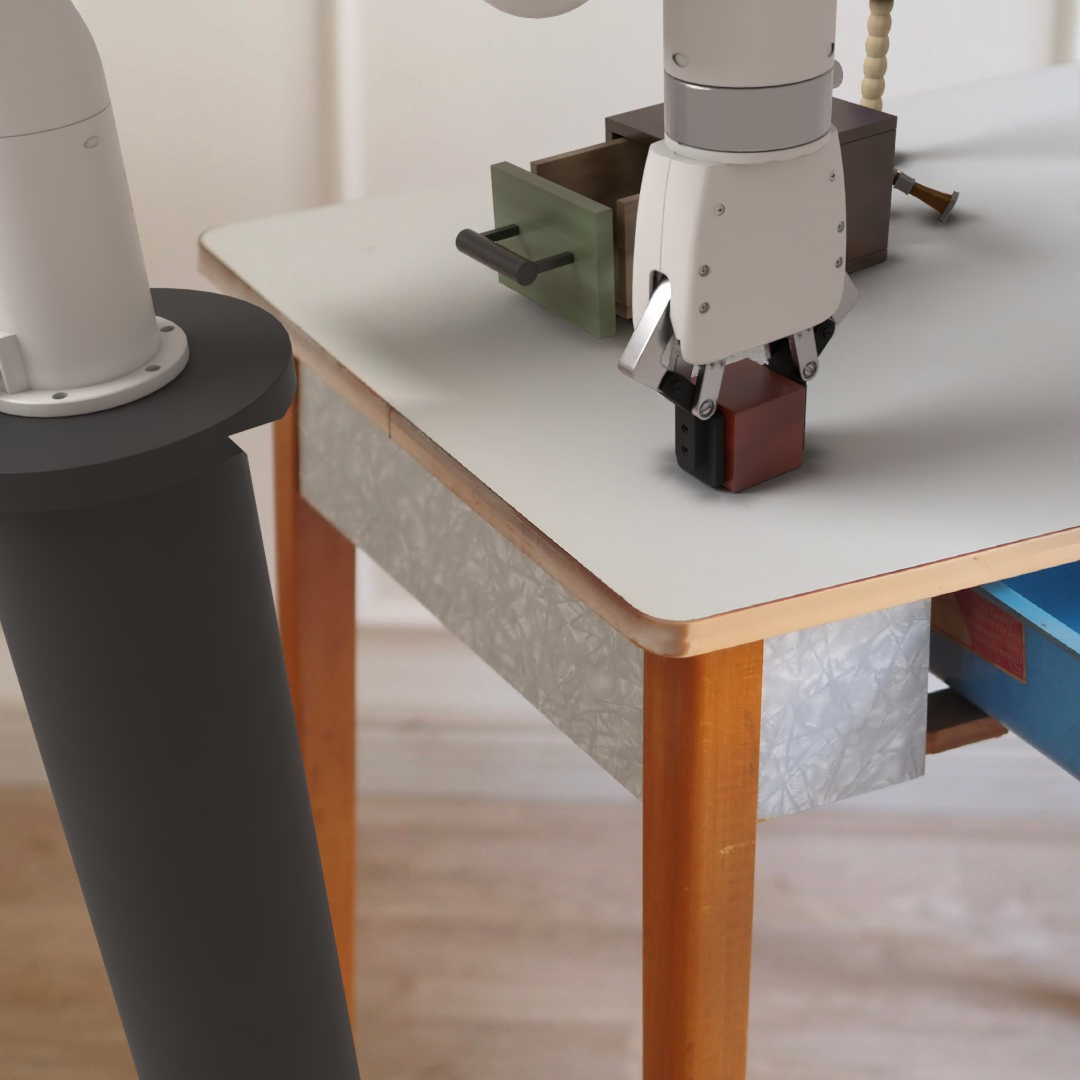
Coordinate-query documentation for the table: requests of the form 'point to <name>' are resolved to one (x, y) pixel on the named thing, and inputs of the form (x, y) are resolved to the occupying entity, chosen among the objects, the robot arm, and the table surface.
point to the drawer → (567, 232)
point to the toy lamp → (876, 53)
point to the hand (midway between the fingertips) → (740, 456)
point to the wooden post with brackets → (925, 194)
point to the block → (759, 423)
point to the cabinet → (863, 161)
